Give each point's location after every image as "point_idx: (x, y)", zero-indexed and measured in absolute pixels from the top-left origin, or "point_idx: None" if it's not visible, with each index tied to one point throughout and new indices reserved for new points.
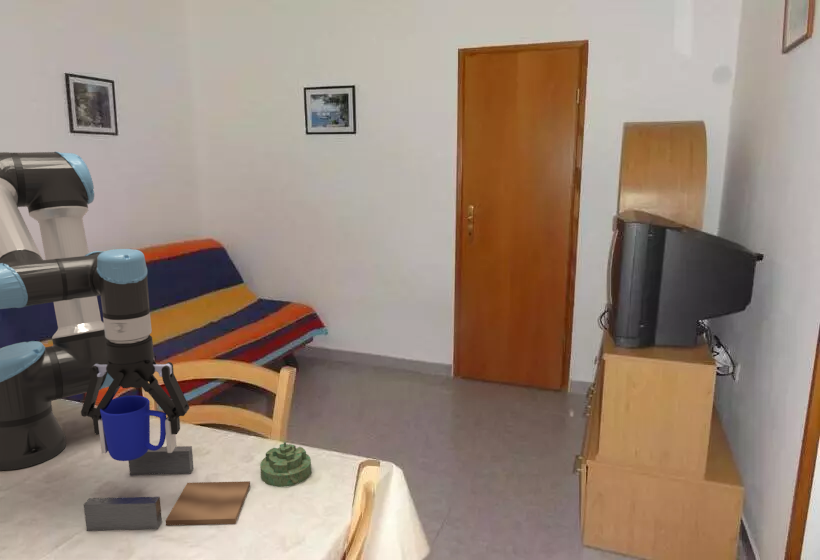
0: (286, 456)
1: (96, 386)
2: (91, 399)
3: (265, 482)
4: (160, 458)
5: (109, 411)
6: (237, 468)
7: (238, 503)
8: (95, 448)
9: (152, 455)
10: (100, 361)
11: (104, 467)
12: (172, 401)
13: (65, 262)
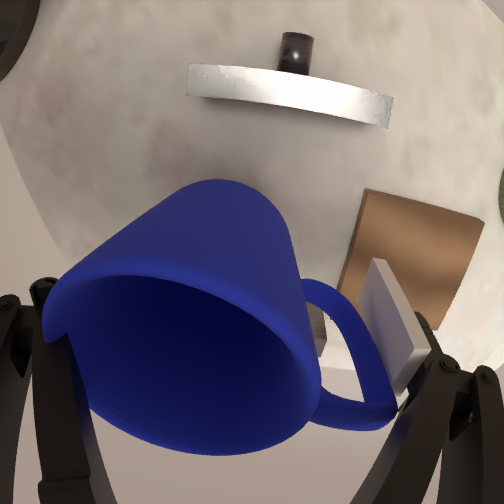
0: None
1: (8, 477)
2: (20, 417)
3: (501, 216)
4: (293, 107)
5: (86, 312)
6: (466, 134)
7: (452, 293)
8: None
9: (268, 103)
10: None
11: (132, 57)
12: (451, 410)
13: None
